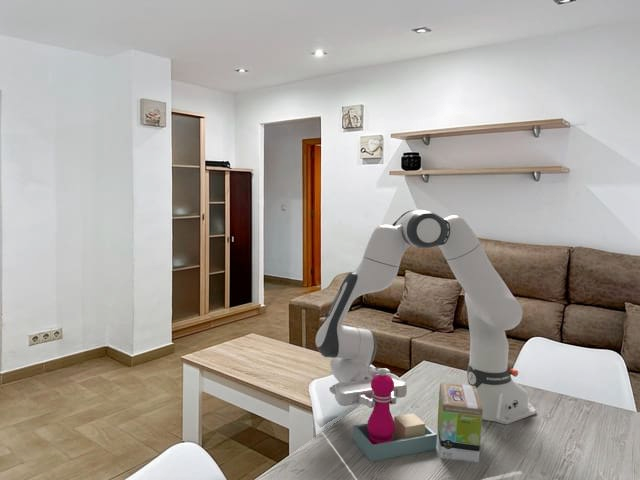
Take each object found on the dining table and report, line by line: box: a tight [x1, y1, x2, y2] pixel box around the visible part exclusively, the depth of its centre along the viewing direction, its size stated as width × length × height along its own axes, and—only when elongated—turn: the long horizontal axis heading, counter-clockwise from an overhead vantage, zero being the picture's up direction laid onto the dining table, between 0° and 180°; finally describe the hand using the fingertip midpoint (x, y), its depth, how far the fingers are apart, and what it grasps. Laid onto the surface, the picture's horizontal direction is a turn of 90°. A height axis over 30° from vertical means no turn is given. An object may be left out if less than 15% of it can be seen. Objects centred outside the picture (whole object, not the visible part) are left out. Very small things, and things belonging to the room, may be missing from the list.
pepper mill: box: [366, 369, 395, 445], centre depth 123 cm, size 7×7×20 cm
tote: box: [352, 418, 438, 463], centre depth 125 cm, size 19×11×4 cm, turn 110°
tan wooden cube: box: [393, 413, 426, 440], centre depth 127 cm, size 6×6×6 cm
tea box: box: [436, 382, 483, 463], centre depth 125 cm, size 15×10×15 cm, turn 168°
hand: (383, 403), depth 122 cm, fingers closed on pepper mill, 5 cm apart
